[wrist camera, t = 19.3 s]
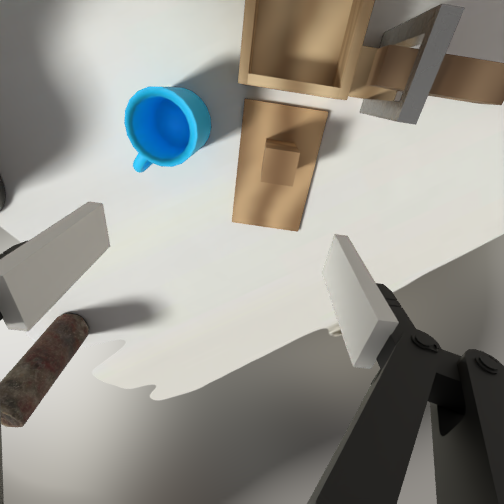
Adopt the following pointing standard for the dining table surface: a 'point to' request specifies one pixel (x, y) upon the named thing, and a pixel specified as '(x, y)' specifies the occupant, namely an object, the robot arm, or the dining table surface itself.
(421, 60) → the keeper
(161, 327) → the dining table surface
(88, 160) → the dining table surface
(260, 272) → the dining table surface
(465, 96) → the bar
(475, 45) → the dining table surface
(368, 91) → the toolbox
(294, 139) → the lid
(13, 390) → the brown piece
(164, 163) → the mug
